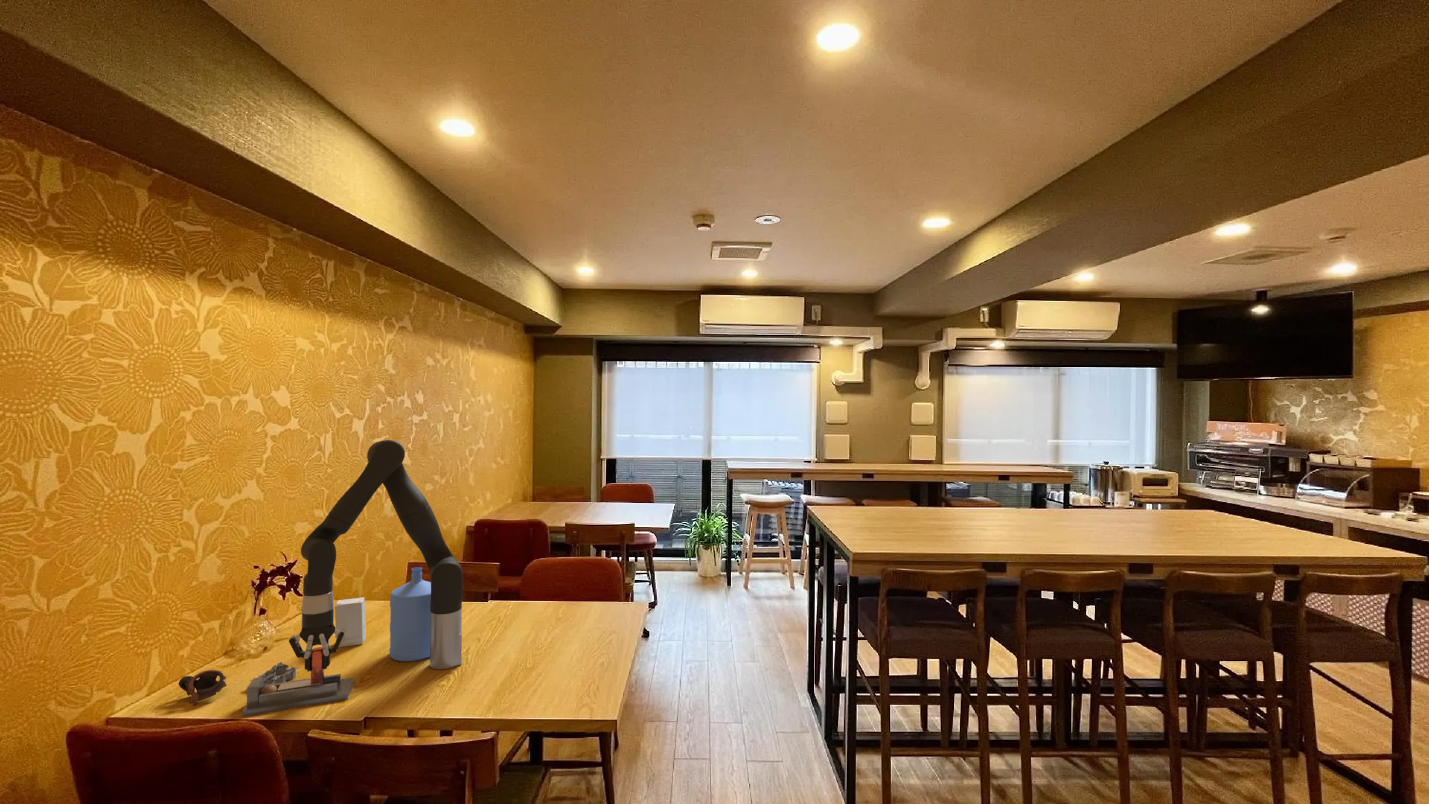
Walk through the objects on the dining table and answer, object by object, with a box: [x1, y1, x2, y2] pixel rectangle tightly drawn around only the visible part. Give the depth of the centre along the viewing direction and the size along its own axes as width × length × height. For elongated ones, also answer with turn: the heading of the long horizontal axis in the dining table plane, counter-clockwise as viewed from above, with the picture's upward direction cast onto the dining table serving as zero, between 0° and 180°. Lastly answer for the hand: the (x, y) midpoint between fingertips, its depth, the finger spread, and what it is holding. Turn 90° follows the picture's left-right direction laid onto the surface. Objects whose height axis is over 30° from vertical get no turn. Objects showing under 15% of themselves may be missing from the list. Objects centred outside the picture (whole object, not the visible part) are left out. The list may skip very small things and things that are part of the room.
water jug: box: [389, 566, 431, 663], centre depth 201 cm, size 16×16×28 cm
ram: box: [277, 646, 325, 692], centre depth 169 cm, size 11×4×11 cm, turn 114°
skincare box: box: [334, 597, 367, 648], centre depth 208 cm, size 8×6×15 cm
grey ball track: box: [242, 673, 355, 717], centre depth 169 cm, size 24×11×6 cm, turn 114°
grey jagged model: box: [249, 661, 299, 687], centre depth 179 cm, size 11×8×4 cm
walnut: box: [261, 685, 277, 694], centre depth 166 cm, size 4×4×4 cm
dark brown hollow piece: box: [178, 669, 228, 705], centre depth 169 cm, size 12×10×8 cm
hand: (317, 668), depth 171 cm, fingers closed on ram, 3 cm apart
